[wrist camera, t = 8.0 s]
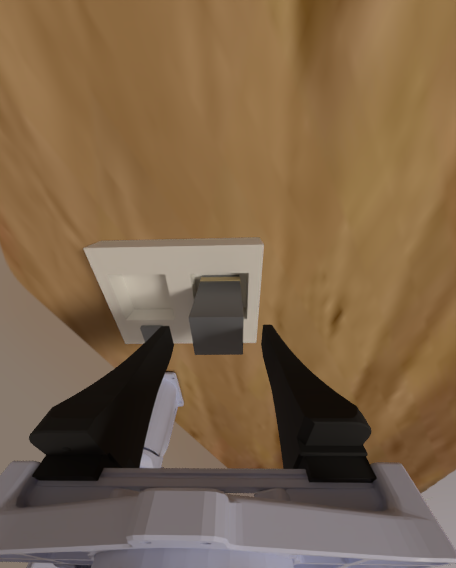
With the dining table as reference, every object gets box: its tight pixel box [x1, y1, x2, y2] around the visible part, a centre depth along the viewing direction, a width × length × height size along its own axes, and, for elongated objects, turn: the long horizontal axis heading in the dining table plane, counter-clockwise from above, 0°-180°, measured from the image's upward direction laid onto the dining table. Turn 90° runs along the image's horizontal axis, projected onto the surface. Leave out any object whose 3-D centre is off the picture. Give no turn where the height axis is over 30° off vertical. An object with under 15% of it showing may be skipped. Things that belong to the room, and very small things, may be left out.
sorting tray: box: [83, 237, 264, 344], centre depth 19 cm, size 12×16×3 cm
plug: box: [189, 275, 244, 355], centre depth 16 cm, size 4×4×7 cm
